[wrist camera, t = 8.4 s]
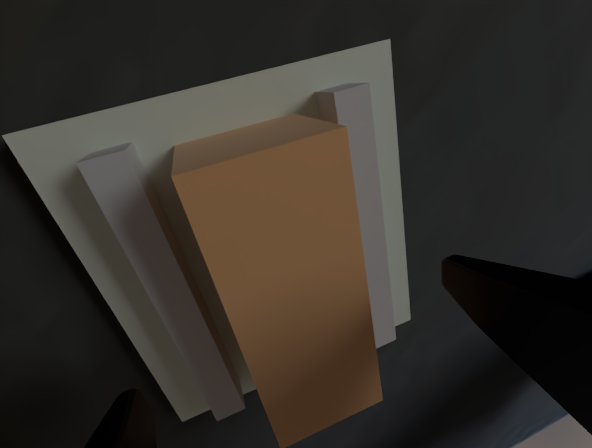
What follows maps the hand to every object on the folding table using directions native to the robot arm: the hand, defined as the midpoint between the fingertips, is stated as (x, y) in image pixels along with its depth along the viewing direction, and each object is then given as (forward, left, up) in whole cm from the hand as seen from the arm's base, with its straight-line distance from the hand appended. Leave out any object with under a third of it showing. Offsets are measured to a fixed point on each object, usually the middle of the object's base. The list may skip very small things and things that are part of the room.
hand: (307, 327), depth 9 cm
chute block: (0, 0, -4) cm, 4 cm away
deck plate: (0, 0, -5) cm, 5 cm away
